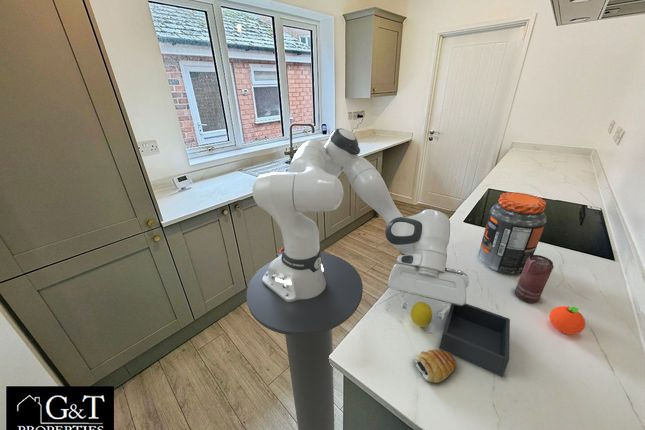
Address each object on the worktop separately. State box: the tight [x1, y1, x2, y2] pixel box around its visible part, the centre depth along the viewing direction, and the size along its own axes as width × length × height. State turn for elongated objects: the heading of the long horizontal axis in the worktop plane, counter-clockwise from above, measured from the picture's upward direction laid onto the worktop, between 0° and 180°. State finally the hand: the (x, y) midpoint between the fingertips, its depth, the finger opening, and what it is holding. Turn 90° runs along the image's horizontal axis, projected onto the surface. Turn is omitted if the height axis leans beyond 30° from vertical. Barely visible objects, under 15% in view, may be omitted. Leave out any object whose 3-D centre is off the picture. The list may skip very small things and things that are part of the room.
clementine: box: [549, 305, 586, 335], centre depth 69 cm, size 8×7×7 cm
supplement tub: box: [478, 191, 548, 275], centre depth 91 cm, size 16×16×26 cm
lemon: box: [410, 301, 433, 328], centre depth 71 cm, size 6×6×8 cm
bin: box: [438, 302, 511, 377], centre depth 67 cm, size 14×14×6 cm
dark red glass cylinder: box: [514, 254, 554, 304], centre depth 78 cm, size 6×6×14 cm
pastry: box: [413, 349, 457, 383], centre depth 61 cm, size 9×7×4 cm
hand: (421, 314), depth 71 cm, fingers open, 8 cm apart
